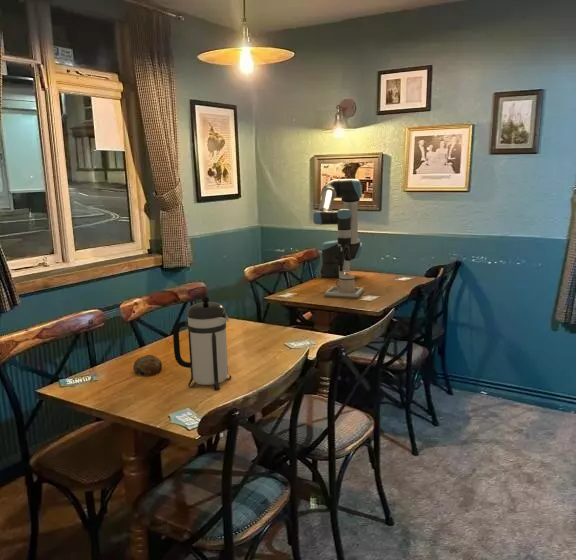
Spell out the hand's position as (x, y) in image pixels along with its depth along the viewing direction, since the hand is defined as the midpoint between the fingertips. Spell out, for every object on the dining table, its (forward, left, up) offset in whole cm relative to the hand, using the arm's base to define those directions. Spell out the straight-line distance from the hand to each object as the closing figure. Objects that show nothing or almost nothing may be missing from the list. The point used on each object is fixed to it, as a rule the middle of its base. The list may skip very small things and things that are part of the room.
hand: (344, 274), depth 300 cm
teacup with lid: (0, 0, -11) cm, 11 cm away
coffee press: (+139, -14, -12) cm, 141 cm away
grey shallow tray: (0, 0, -11) cm, 11 cm away
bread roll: (+135, -39, -12) cm, 142 cm away
